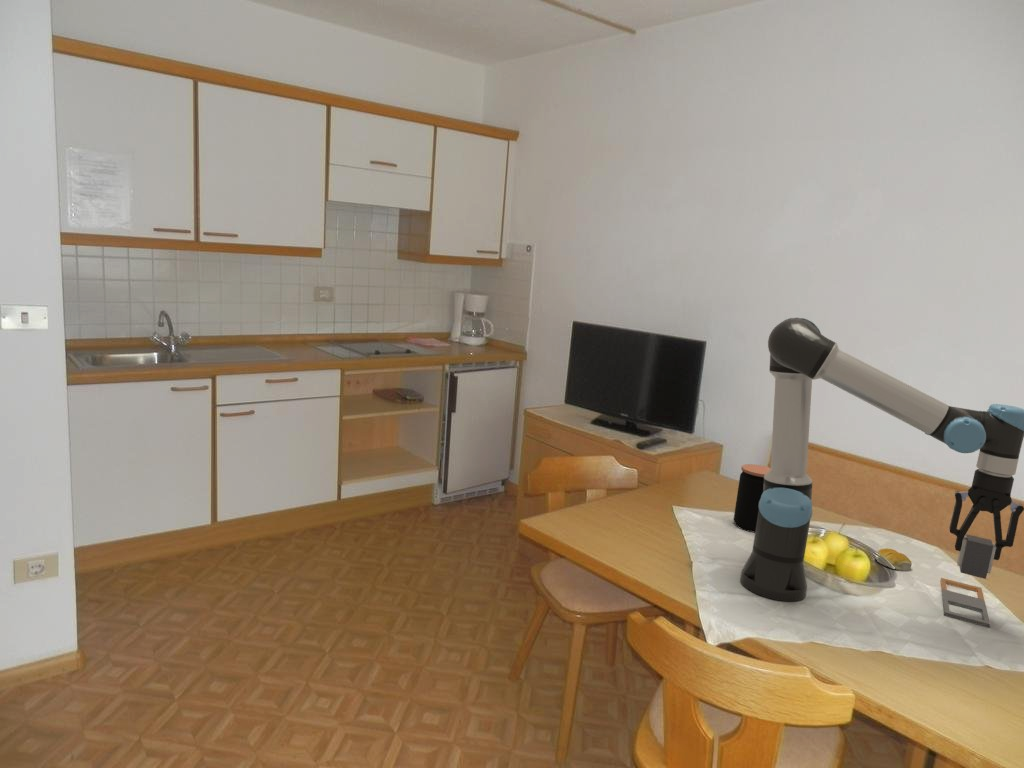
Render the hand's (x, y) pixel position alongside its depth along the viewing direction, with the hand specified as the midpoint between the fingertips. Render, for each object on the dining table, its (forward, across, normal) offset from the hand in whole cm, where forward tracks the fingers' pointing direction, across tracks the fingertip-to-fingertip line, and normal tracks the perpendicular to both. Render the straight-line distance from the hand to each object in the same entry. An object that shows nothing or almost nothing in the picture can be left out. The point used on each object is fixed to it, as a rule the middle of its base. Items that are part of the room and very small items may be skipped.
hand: (973, 567), depth 166 cm
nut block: (+1, 0, 0) cm, 1 cm away
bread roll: (+12, +15, -23) cm, 30 cm away
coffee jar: (+12, +54, -25) cm, 60 cm away
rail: (+11, 0, -7) cm, 13 cm away
